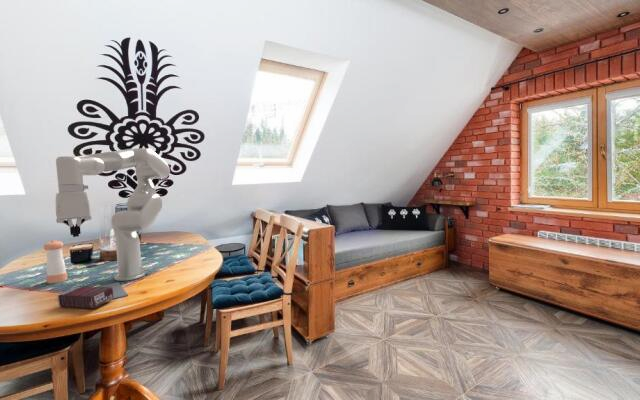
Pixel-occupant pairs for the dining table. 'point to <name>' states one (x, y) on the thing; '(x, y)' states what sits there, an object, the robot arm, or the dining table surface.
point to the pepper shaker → (55, 262)
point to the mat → (116, 290)
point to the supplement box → (85, 297)
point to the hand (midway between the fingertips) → (75, 236)
